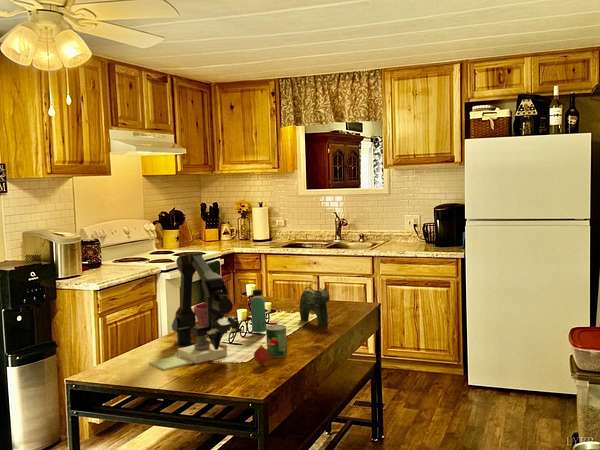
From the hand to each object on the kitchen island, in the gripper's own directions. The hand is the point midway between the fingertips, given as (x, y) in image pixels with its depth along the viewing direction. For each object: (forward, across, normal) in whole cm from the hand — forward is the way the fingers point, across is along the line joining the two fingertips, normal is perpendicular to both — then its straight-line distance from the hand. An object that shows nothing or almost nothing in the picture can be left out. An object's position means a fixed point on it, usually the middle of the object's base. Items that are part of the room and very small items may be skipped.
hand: (216, 349), depth 251 cm
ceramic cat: (+5, +66, +20) cm, 69 cm away
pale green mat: (+4, -14, +10) cm, 18 cm away
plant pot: (+5, +22, +40) cm, 46 cm away
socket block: (+4, 0, +10) cm, 11 cm away
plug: (+5, 0, +10) cm, 11 cm away
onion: (+5, +9, -18) cm, 20 cm away
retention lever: (0, +3, +7) cm, 8 cm away
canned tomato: (+5, +22, -10) cm, 24 cm away
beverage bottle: (+5, +36, +22) cm, 42 cm away
